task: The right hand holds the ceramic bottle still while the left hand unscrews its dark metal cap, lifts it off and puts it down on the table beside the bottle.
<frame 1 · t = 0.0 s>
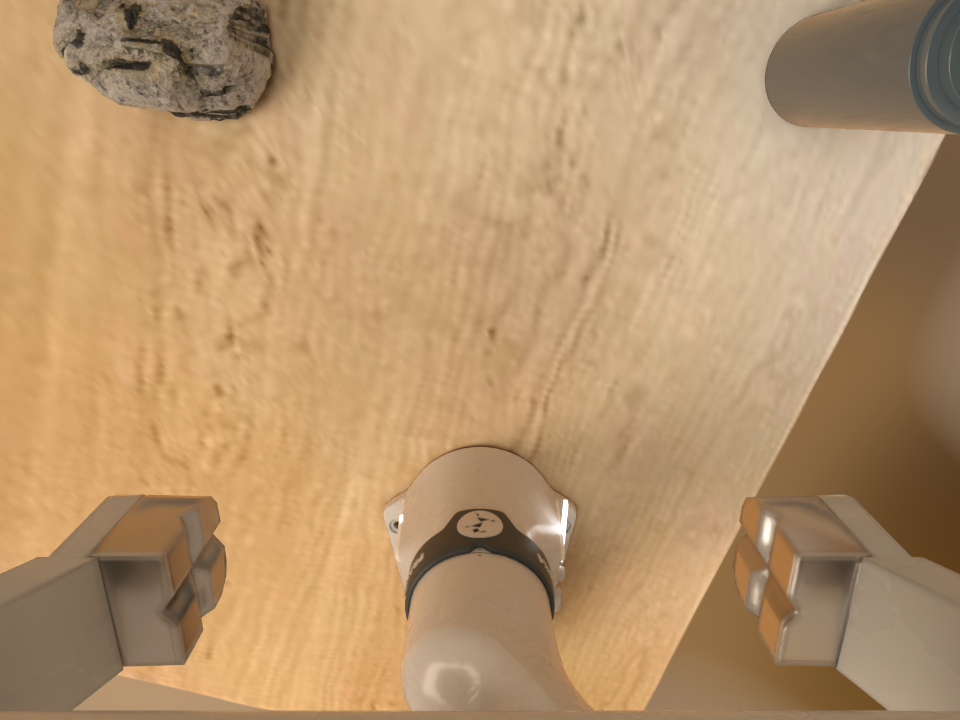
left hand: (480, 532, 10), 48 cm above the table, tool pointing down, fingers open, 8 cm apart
rock: (180, 39, 52), on the table
bottle: (817, 71, 52), on the table
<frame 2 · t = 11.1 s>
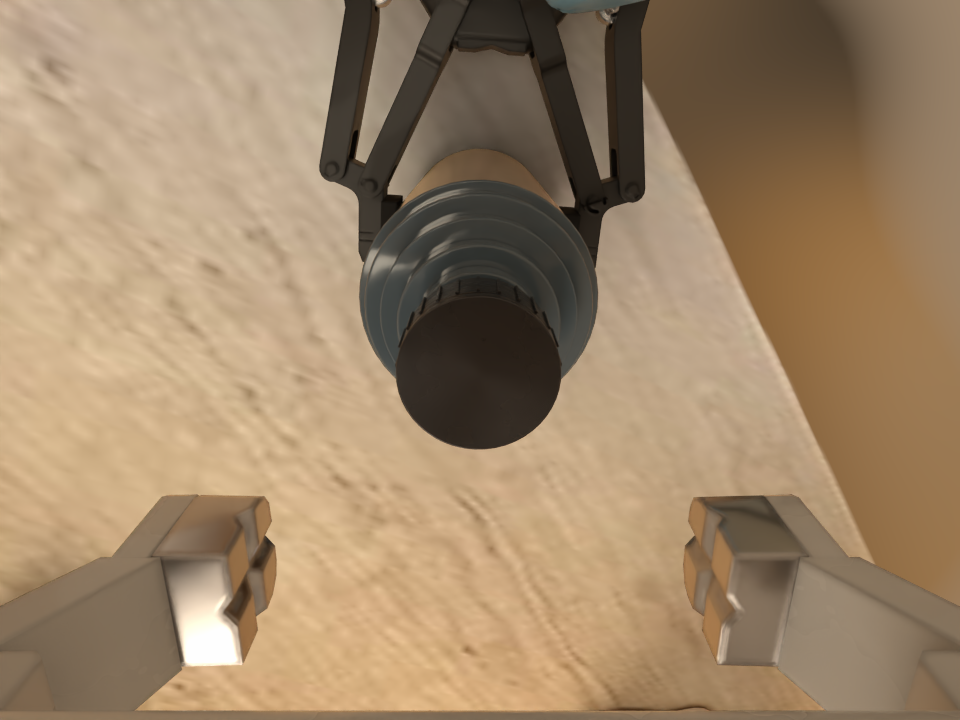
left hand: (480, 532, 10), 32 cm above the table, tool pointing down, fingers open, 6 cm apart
cap: (478, 371, 17), point 25 cm above the table, screwed on, not yet turned
bottle: (478, 219, 40), on the table, touching right hand
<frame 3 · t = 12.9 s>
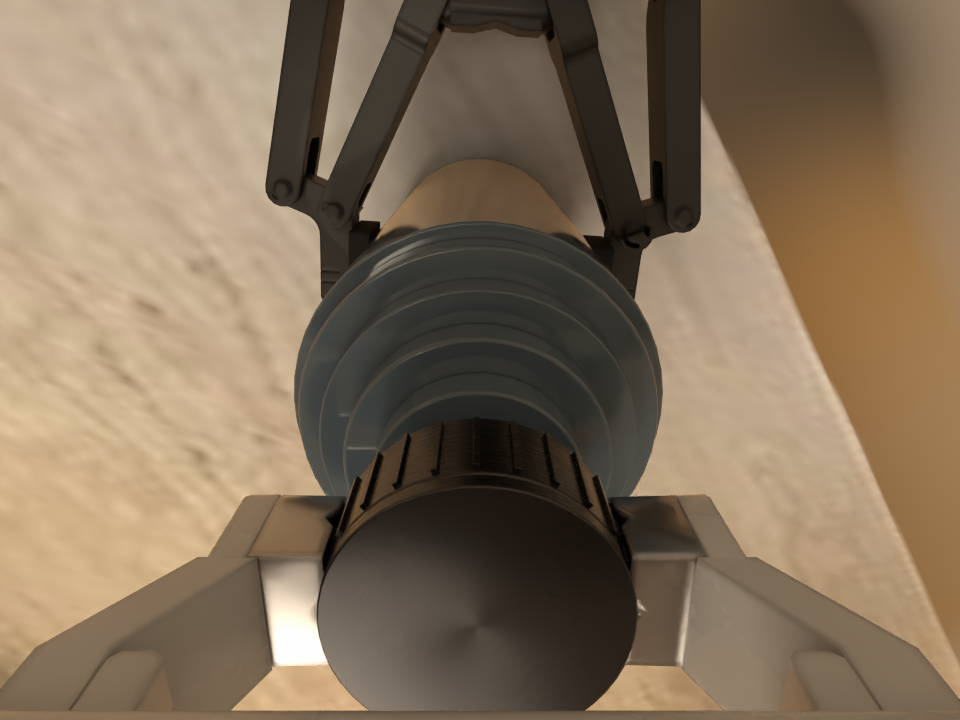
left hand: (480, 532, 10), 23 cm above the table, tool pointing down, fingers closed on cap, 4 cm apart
cap: (477, 610, 9), point 25 cm above the table, screwed on, not yet turned, touching left hand
bottle: (479, 246, 32), on the table, touching right hand
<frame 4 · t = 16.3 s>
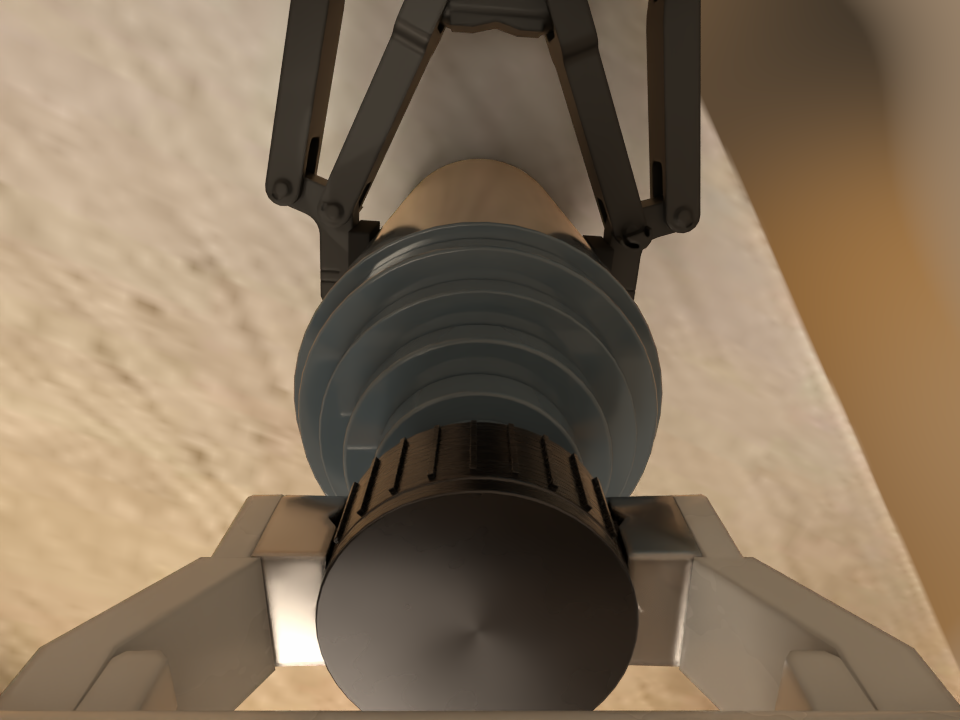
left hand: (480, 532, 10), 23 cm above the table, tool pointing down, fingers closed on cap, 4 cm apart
cap: (477, 615, 9), point 25 cm above the table, turned 73° so far, risen 0.1 cm, still on its thread, touching left hand
bottle: (478, 245, 32), on the table, touching right hand
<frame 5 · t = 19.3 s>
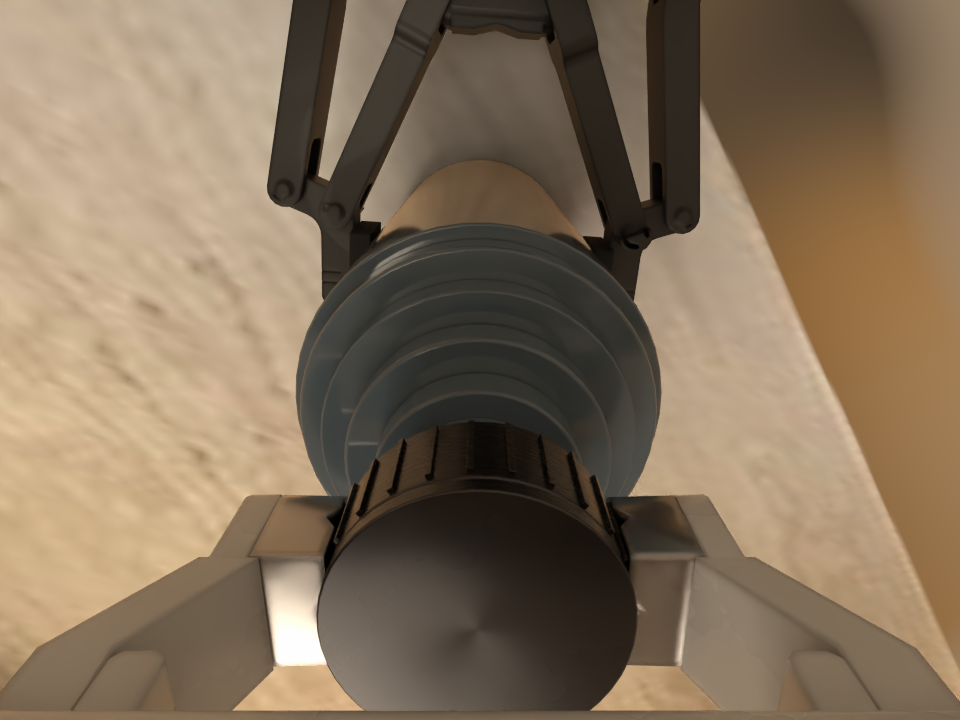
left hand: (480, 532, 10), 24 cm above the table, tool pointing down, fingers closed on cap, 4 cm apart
cap: (477, 613, 9), point 25 cm above the table, turned 146° so far, risen 0.1 cm, still on its thread, touching left hand
bottle: (479, 246, 33), on the table, touching right hand
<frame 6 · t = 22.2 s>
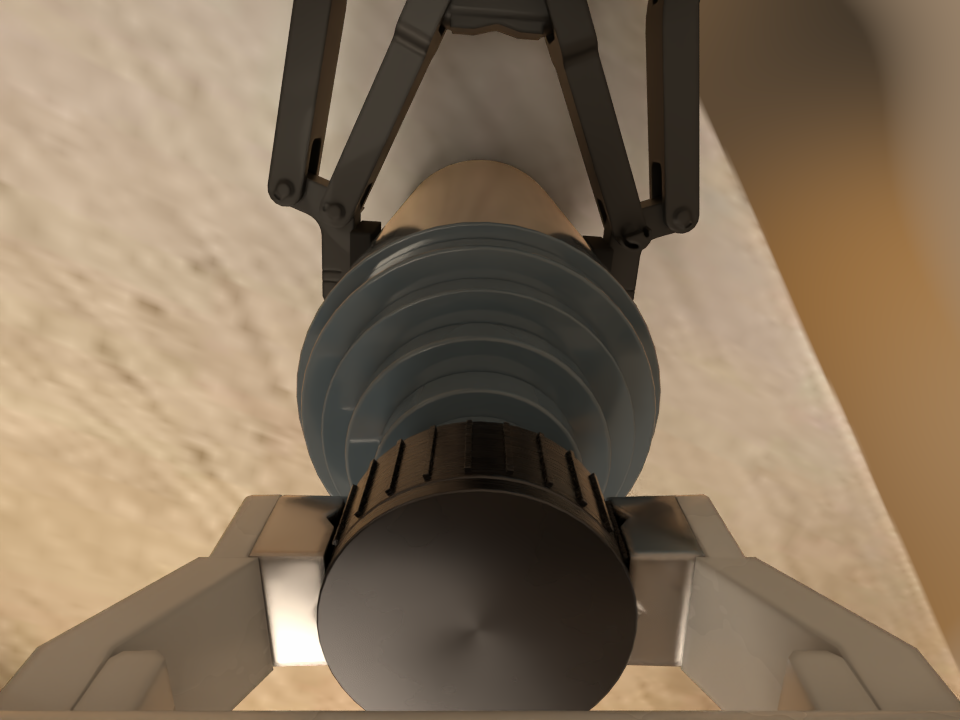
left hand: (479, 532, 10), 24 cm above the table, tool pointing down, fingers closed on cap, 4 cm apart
cap: (477, 613, 9), point 25 cm above the table, turned 219° so far, risen 0.2 cm, still on its thread, touching left hand
bottle: (479, 246, 33), on the table, touching right hand
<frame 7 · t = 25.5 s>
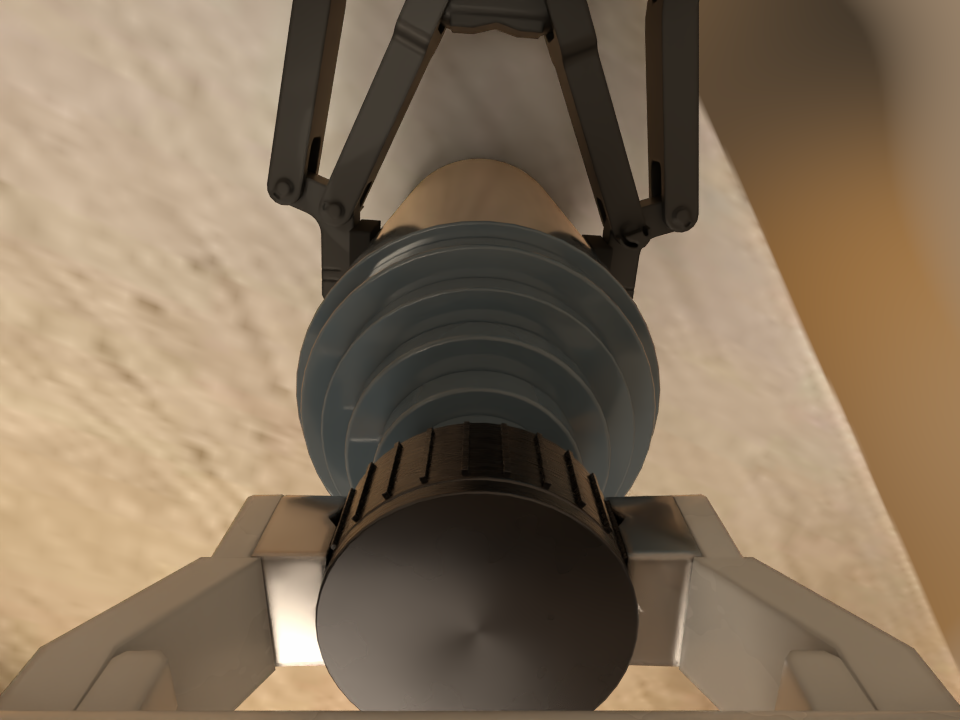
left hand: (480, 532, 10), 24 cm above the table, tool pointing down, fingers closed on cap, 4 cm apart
cap: (477, 615, 9), point 25 cm above the table, turned 292° so far, risen 0.3 cm, still on its thread, touching left hand
bottle: (478, 245, 33), on the table, touching right hand
when the left hand's fingers open (2 cm above the table, at t = 36.3 s): cap drops 2 cm, point 2 cm above the table.
when the right hand's fingers open (7 cm above the table, at t = 37.5 s): bottle stays where it is, on the table.
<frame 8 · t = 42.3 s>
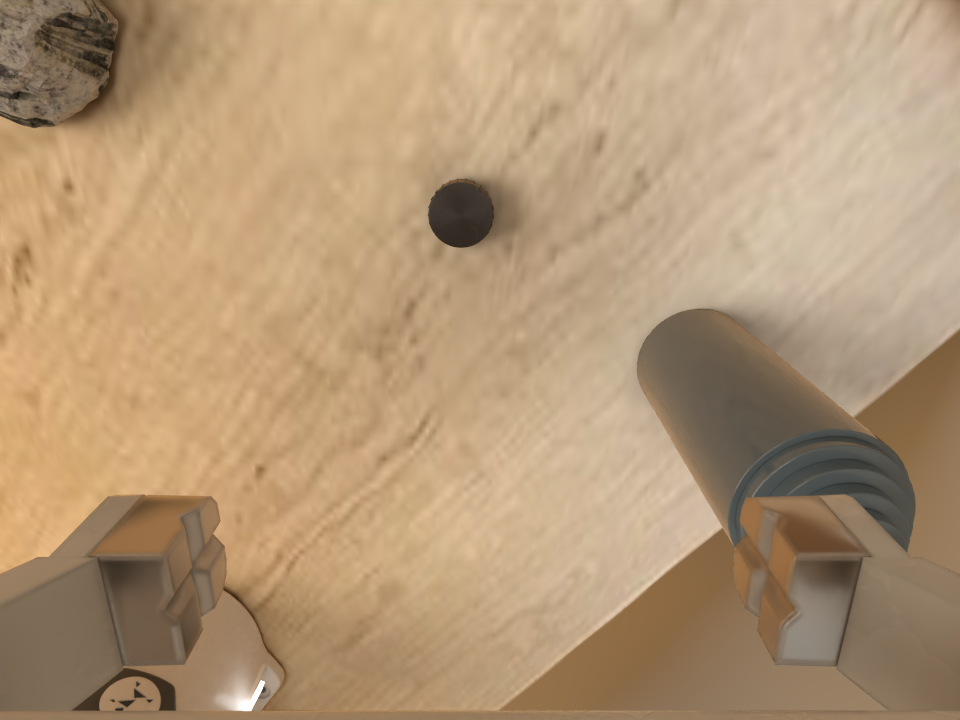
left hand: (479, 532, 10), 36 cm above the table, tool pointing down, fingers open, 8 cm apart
cap: (460, 214, 43), point 2 cm above the table, off its thread
rock: (1, 1, 40), on the table
bottle: (694, 363, 48), on the table
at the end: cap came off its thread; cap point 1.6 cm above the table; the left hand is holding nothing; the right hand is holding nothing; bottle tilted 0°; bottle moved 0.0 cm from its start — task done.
